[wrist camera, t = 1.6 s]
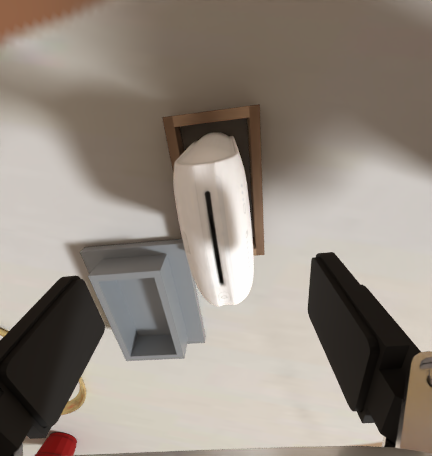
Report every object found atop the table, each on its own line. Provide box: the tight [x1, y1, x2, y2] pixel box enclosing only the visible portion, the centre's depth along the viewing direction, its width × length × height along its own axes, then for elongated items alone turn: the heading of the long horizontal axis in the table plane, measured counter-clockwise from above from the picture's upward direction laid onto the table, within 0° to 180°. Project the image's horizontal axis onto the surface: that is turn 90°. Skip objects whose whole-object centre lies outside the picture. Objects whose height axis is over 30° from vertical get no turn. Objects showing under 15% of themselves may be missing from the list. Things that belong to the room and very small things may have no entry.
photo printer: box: [173, 132, 254, 306], centre depth 18 cm, size 10×4×12 cm, turn 8°
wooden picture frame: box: [162, 104, 264, 256], centre depth 22 cm, size 8×14×2 cm, turn 7°
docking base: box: [80, 239, 206, 361], centre depth 28 cm, size 12×16×4 cm
